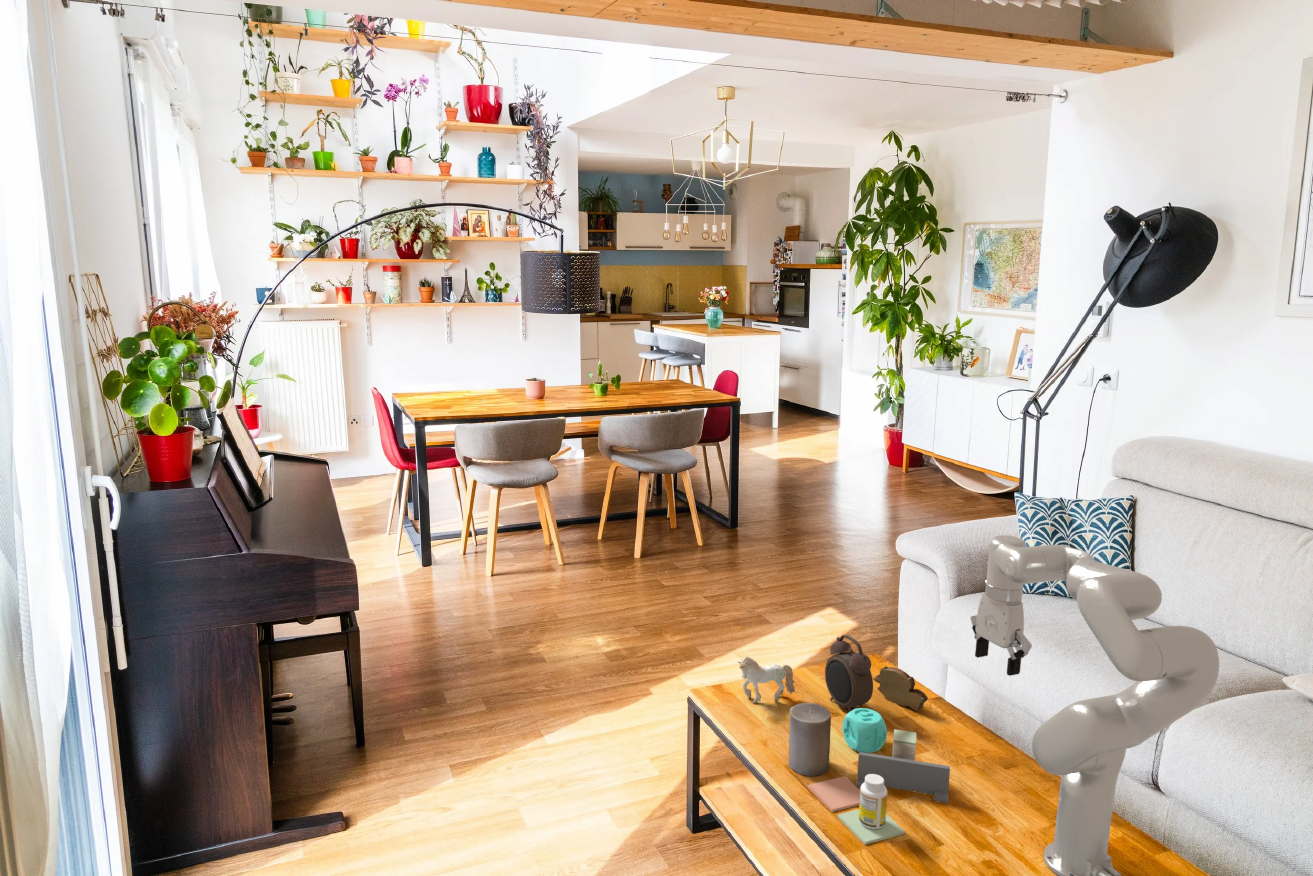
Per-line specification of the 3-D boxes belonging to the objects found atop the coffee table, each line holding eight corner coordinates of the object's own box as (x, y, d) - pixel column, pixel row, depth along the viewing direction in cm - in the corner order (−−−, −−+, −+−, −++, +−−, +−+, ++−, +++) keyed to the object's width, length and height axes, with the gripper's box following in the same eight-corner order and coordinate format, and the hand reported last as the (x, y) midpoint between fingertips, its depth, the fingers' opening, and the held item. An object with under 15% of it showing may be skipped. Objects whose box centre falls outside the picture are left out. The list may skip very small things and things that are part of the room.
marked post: (913, 771, 209) (916, 732, 207) (913, 783, 205) (916, 743, 203) (891, 768, 211) (894, 729, 209) (890, 779, 206) (893, 740, 204)
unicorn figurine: (723, 702, 241) (724, 657, 239) (781, 688, 250) (783, 643, 248) (737, 714, 235) (739, 667, 233) (796, 699, 244) (799, 653, 242)
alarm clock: (819, 698, 245) (822, 630, 241) (840, 693, 248) (844, 626, 244) (851, 722, 232) (856, 651, 228) (873, 717, 235) (878, 646, 231)
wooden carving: (930, 711, 238) (933, 677, 236) (921, 717, 235) (924, 682, 233) (877, 690, 250) (879, 657, 248) (868, 695, 247) (870, 662, 245)
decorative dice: (857, 756, 216) (859, 725, 214) (841, 739, 223) (842, 710, 222) (886, 750, 218) (888, 721, 217) (868, 734, 226) (870, 705, 224)
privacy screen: (947, 788, 203) (949, 760, 201) (947, 803, 197) (950, 774, 196) (857, 773, 208) (859, 746, 207) (856, 787, 202) (858, 759, 201)
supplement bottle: (879, 814, 192) (882, 771, 190) (889, 830, 186) (892, 785, 184) (854, 815, 191) (857, 772, 189) (863, 831, 186) (866, 787, 184)
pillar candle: (830, 758, 215) (833, 700, 212) (827, 779, 205) (829, 719, 203) (790, 752, 217) (792, 695, 214) (785, 773, 208) (787, 714, 205)
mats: (904, 833, 186) (904, 831, 186) (864, 844, 182) (865, 842, 182) (844, 778, 206) (844, 776, 206) (807, 787, 202) (807, 785, 202)
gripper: (962, 581, 200) (956, 652, 204) (1020, 608, 185) (1012, 684, 188) (988, 577, 203) (982, 647, 206) (1047, 603, 188) (1039, 679, 191)
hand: (996, 665), depth 197 cm, fingers open, 9 cm apart
